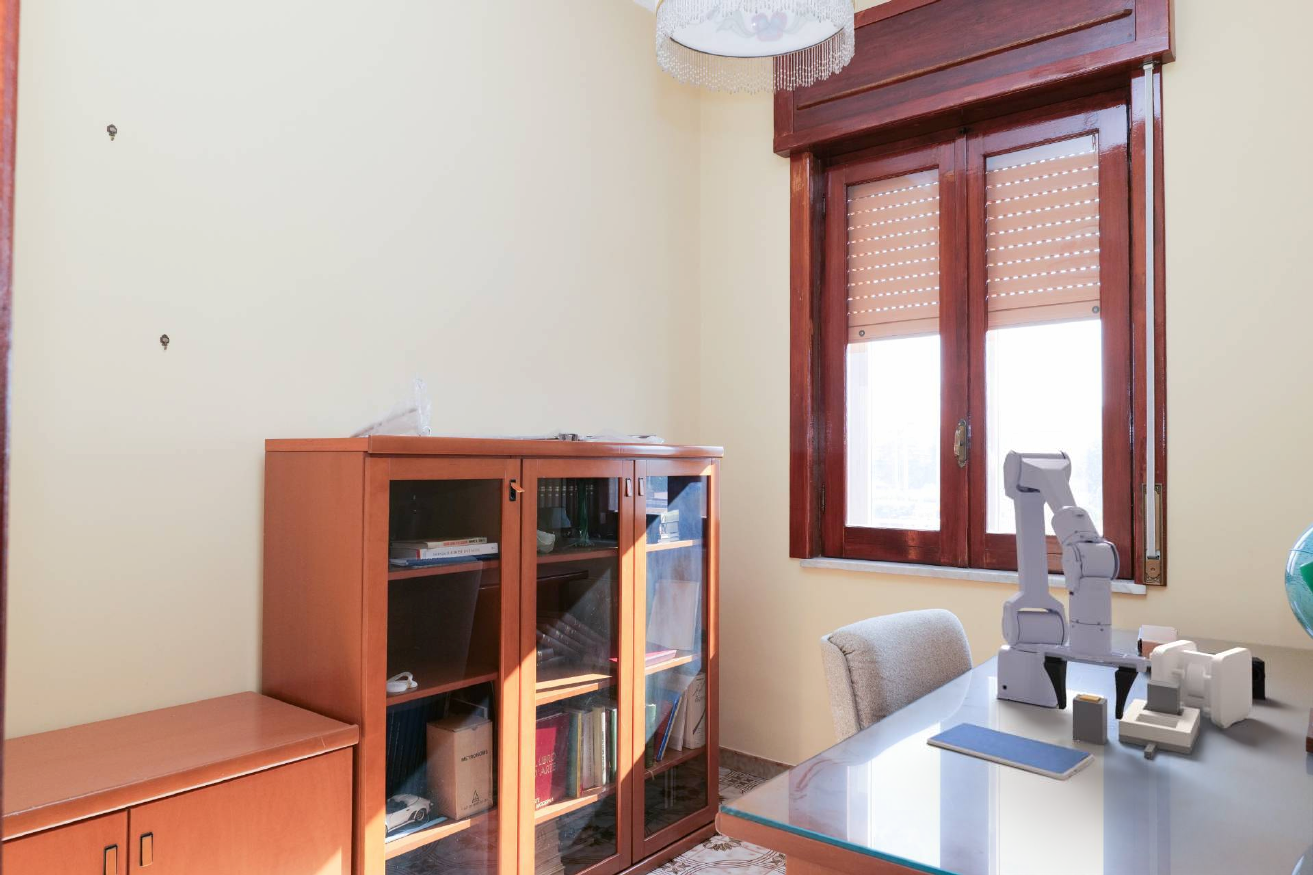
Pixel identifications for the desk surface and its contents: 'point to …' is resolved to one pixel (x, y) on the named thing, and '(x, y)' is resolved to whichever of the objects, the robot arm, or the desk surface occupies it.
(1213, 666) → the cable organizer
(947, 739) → the tablet computer
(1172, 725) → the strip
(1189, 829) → the desk surface
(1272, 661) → the desk surface
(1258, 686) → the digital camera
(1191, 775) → the desk surface
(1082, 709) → the plug
